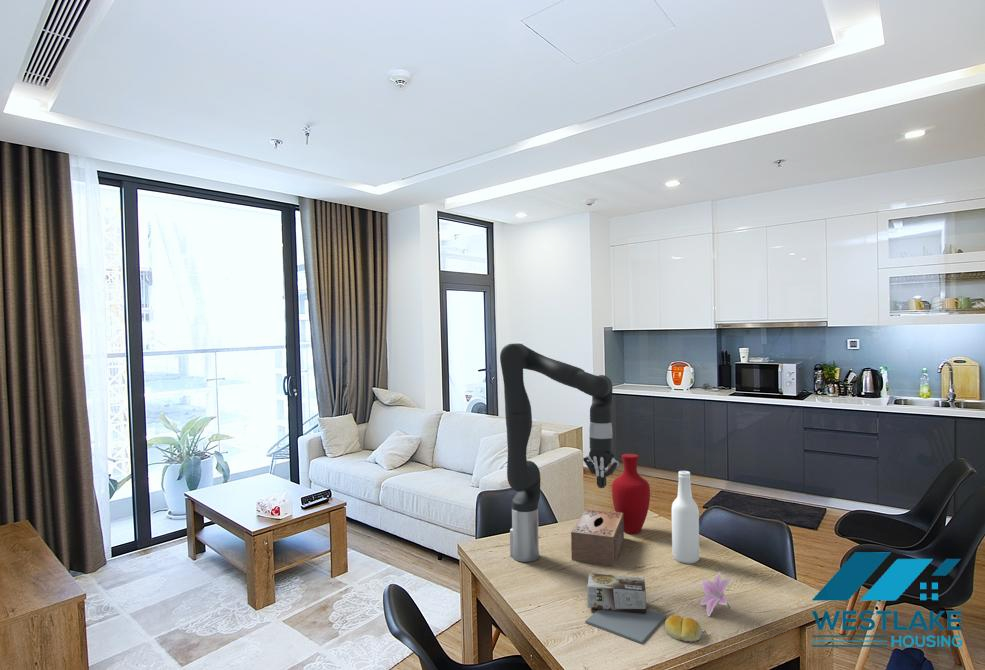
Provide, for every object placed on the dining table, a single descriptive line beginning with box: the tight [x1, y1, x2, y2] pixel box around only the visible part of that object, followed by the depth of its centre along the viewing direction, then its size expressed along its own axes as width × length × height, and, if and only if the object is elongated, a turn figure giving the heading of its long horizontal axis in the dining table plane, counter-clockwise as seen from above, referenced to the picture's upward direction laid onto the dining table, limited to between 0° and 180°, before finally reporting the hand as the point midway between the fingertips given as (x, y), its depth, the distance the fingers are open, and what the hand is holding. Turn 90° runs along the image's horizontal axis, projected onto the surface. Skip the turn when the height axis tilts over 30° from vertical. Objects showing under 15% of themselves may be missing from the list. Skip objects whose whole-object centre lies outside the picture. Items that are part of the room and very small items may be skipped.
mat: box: [585, 608, 667, 645], centre depth 145 cm, size 16×16×1 cm
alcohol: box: [671, 470, 700, 565], centre depth 183 cm, size 9×9×30 cm
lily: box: [699, 571, 732, 617], centre depth 150 cm, size 12×12×10 cm
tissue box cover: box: [570, 508, 625, 567], centre depth 193 cm, size 26×14×10 cm, turn 159°
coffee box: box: [587, 573, 648, 614], centre depth 152 cm, size 9×6×16 cm
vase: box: [611, 453, 651, 535], centre depth 210 cm, size 15×15×30 cm
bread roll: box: [664, 614, 703, 643], centre depth 138 cm, size 8×9×4 cm
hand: (601, 487), depth 177 cm, fingers closed
